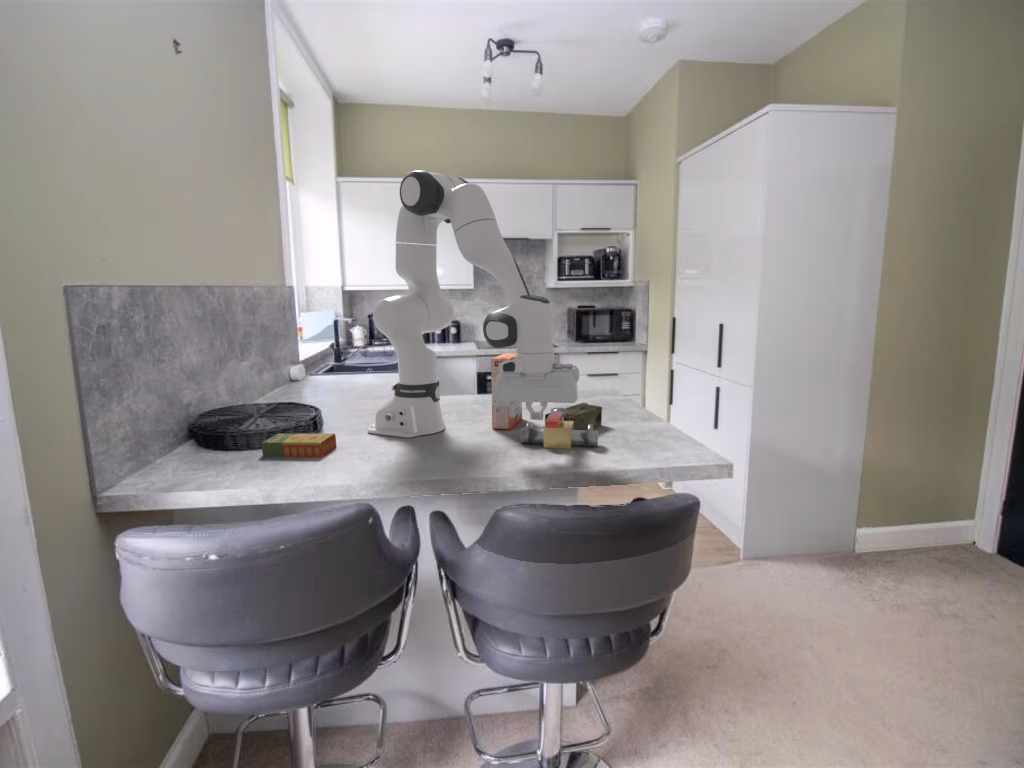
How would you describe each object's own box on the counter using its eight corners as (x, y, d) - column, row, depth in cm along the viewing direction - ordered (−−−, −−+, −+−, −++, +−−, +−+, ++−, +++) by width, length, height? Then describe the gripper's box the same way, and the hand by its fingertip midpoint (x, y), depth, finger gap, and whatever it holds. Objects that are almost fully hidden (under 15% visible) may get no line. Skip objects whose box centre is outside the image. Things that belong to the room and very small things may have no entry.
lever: (552, 412, 136) (552, 406, 135) (567, 413, 135) (567, 407, 134) (543, 427, 122) (543, 420, 121) (559, 428, 121) (559, 421, 121)
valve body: (518, 446, 134) (518, 417, 132) (524, 438, 140) (523, 411, 139) (596, 450, 129) (597, 420, 128) (598, 442, 136) (598, 413, 134)
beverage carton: (603, 425, 153) (603, 404, 151) (567, 441, 138) (567, 417, 137) (580, 421, 158) (580, 400, 156) (543, 436, 143) (542, 413, 142)
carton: (322, 458, 128) (320, 442, 127) (261, 457, 130) (259, 441, 129) (337, 448, 136) (335, 432, 136) (279, 447, 138) (278, 432, 137)
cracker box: (511, 430, 149) (509, 358, 145) (491, 429, 150) (489, 358, 146) (523, 418, 162) (522, 352, 158) (505, 417, 163) (503, 352, 160)
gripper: (580, 362, 124) (580, 417, 127) (498, 361, 129) (500, 415, 132) (577, 365, 118) (577, 424, 121) (492, 365, 123) (493, 421, 126)
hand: (536, 419), depth 126 cm, fingers closed
